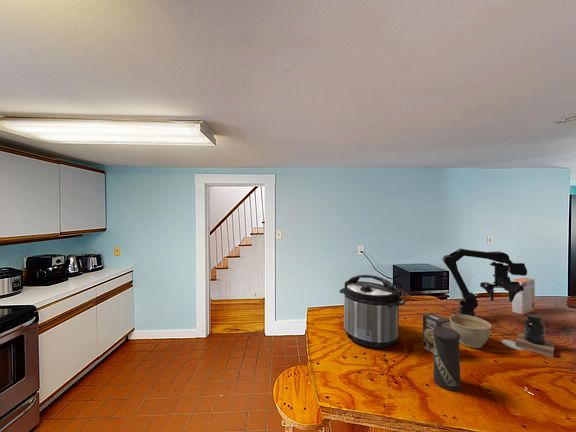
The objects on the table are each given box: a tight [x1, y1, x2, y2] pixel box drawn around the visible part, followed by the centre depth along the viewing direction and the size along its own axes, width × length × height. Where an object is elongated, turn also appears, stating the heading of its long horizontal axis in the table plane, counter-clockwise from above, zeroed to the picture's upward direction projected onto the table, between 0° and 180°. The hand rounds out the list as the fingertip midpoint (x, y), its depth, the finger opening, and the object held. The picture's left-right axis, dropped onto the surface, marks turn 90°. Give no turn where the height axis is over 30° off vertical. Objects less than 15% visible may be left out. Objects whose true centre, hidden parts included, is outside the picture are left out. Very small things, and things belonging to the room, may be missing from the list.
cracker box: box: [510, 277, 536, 316], centre depth 152 cm, size 14×6×21 cm, turn 111°
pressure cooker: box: [339, 274, 407, 348], centre depth 125 cm, size 30×28×32 cm
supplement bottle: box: [523, 313, 546, 345], centre depth 113 cm, size 7×7×12 cm
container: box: [433, 327, 462, 392], centre depth 90 cm, size 9×9×20 cm
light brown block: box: [514, 332, 556, 358], centre depth 113 cm, size 12×12×2 cm
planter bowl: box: [449, 314, 492, 349], centre depth 117 cm, size 16×16×11 cm
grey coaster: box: [501, 339, 527, 351], centre depth 115 cm, size 9×9×1 cm
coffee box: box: [422, 312, 451, 355], centre depth 110 cm, size 9×6×16 cm
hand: (501, 301), depth 136 cm, fingers open, 9 cm apart
